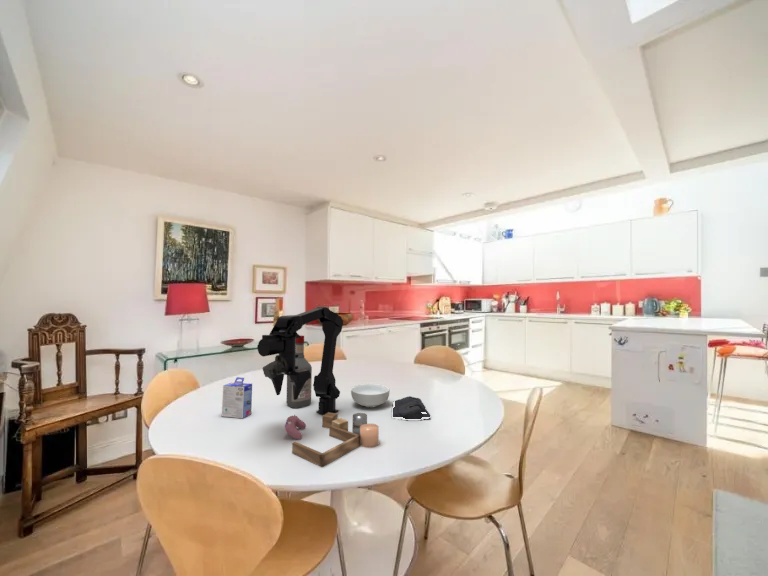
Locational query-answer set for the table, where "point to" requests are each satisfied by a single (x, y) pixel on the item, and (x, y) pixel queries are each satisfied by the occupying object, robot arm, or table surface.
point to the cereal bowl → (370, 394)
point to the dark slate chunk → (409, 408)
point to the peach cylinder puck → (369, 435)
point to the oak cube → (340, 423)
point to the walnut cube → (328, 419)
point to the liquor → (305, 393)
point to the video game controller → (294, 426)
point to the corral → (333, 453)
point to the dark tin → (358, 422)
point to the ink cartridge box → (237, 399)
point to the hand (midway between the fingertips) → (286, 397)
